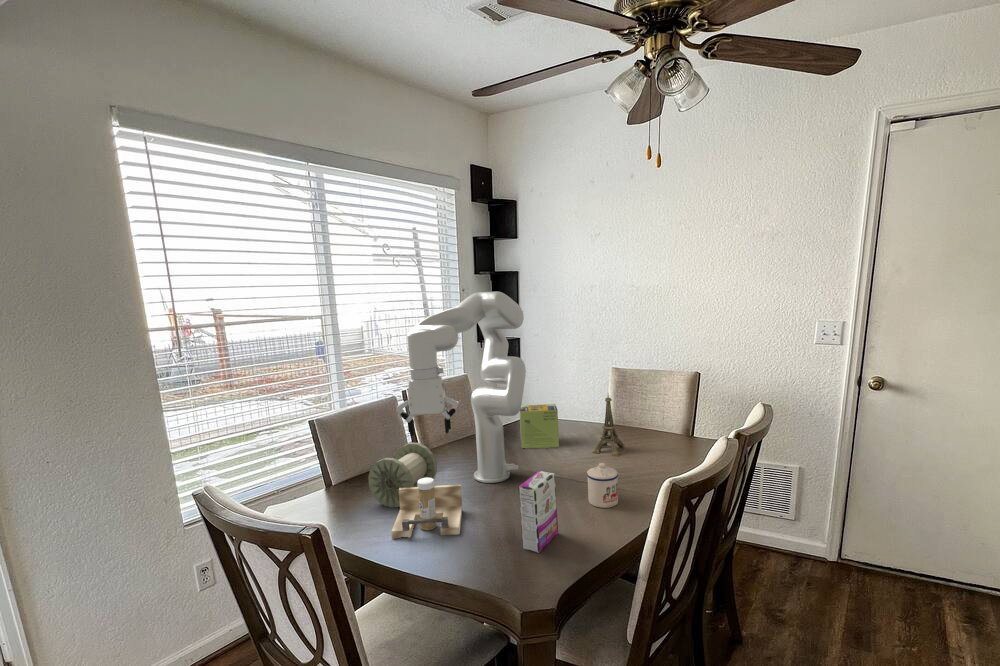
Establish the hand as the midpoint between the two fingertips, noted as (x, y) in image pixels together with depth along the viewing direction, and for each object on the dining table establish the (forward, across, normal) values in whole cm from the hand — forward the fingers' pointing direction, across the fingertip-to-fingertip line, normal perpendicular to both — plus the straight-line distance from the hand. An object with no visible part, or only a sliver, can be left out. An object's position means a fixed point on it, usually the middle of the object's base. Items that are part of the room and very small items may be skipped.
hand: (430, 433), depth 136 cm
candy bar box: (+26, -28, +16) cm, 41 cm away
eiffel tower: (+29, -62, -47) cm, 83 cm away
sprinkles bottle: (+25, +2, +5) cm, 26 cm away
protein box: (+29, -36, -60) cm, 76 cm away
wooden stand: (+25, +2, +3) cm, 25 cm away
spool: (+26, +12, -17) cm, 33 cm away
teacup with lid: (+27, -50, -4) cm, 57 cm away
